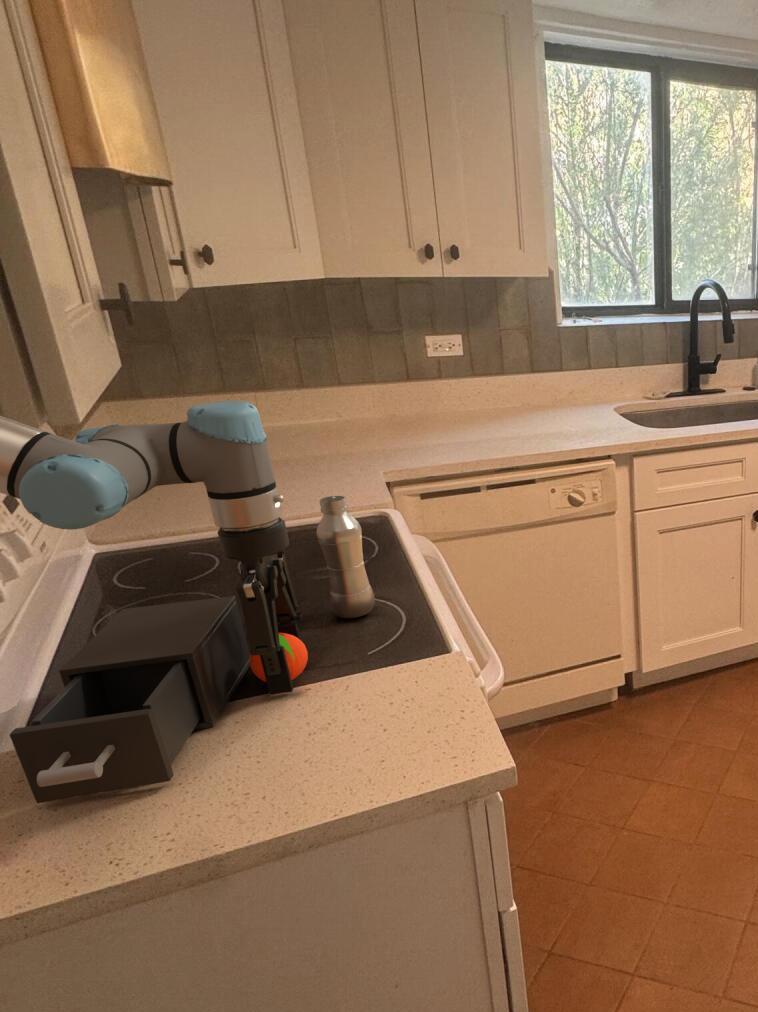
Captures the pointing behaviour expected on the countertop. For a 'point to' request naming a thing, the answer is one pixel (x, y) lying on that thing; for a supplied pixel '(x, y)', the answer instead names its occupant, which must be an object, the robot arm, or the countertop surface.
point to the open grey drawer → (109, 731)
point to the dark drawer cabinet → (175, 647)
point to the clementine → (294, 657)
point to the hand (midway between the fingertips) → (288, 677)
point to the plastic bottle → (344, 559)
